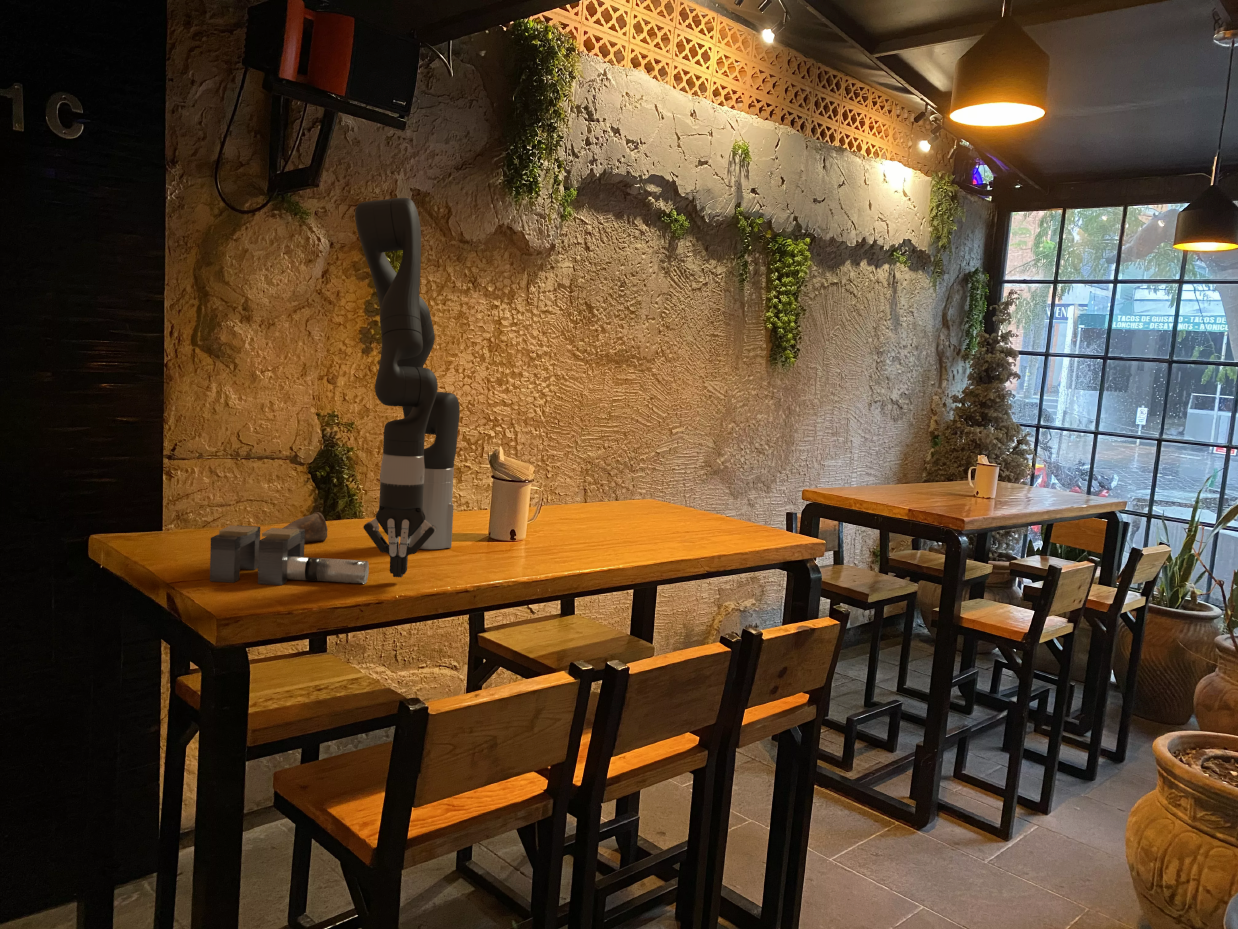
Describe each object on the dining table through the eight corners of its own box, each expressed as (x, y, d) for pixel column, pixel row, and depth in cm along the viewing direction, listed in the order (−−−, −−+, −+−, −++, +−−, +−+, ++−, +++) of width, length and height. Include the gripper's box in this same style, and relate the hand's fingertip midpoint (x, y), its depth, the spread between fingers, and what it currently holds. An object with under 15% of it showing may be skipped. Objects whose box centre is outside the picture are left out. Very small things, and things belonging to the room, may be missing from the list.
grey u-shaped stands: (303, 569, 161) (305, 526, 160) (281, 585, 149) (283, 538, 149) (237, 565, 161) (238, 522, 160) (209, 581, 149) (210, 534, 148)
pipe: (274, 531, 171) (327, 523, 174) (274, 516, 186) (324, 508, 190) (279, 563, 172) (332, 554, 175) (279, 545, 187) (328, 537, 191)
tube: (369, 569, 157) (366, 556, 154) (365, 588, 155) (362, 575, 152) (267, 563, 156) (262, 550, 153) (261, 582, 154) (256, 569, 151)
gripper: (443, 479, 159) (438, 573, 160) (369, 475, 158) (365, 569, 160) (436, 485, 151) (432, 583, 153) (359, 480, 150) (355, 579, 152)
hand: (397, 576), depth 156 cm, fingers closed
